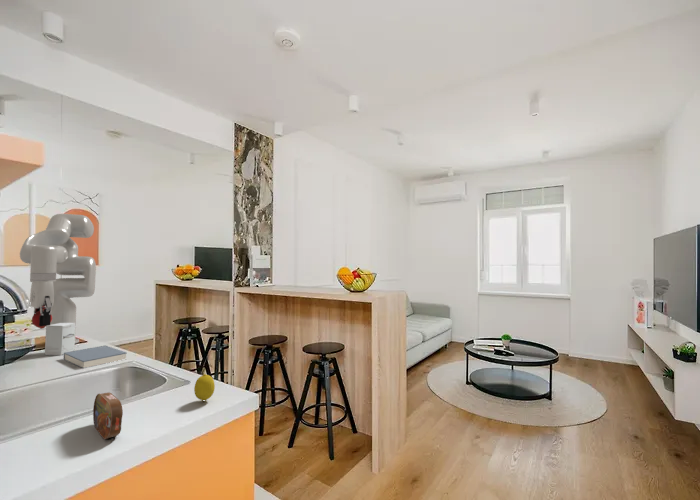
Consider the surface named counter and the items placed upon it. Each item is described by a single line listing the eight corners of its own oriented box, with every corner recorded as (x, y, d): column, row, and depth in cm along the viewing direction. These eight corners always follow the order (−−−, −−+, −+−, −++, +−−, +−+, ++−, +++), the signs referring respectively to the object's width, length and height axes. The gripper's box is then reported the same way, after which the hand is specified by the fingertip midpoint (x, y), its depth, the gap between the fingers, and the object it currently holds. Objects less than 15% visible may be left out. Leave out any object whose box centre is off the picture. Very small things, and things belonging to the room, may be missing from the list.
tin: (91, 423, 88) (92, 390, 88) (106, 419, 90) (107, 386, 90) (107, 445, 78) (109, 407, 78) (124, 440, 80) (125, 403, 80)
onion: (37, 331, 129) (38, 309, 129) (27, 329, 131) (28, 308, 131) (55, 327, 135) (55, 307, 135) (45, 326, 137) (46, 306, 137)
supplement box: (61, 355, 147) (62, 325, 148) (44, 355, 147) (45, 325, 148) (75, 350, 155) (76, 322, 155) (59, 350, 155) (60, 322, 155)
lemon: (218, 399, 104) (218, 372, 104) (205, 406, 99) (205, 378, 99) (203, 396, 106) (204, 370, 106) (189, 403, 100) (190, 375, 101)
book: (63, 360, 142) (63, 352, 142) (105, 352, 154) (105, 345, 154) (83, 369, 131) (83, 361, 131) (126, 359, 143) (126, 352, 143)
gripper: (23, 276, 135) (21, 323, 135) (38, 279, 125) (36, 329, 125) (48, 275, 141) (46, 320, 141) (63, 278, 131) (62, 326, 131)
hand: (41, 324), depth 133 cm, fingers closed on onion, 5 cm apart
